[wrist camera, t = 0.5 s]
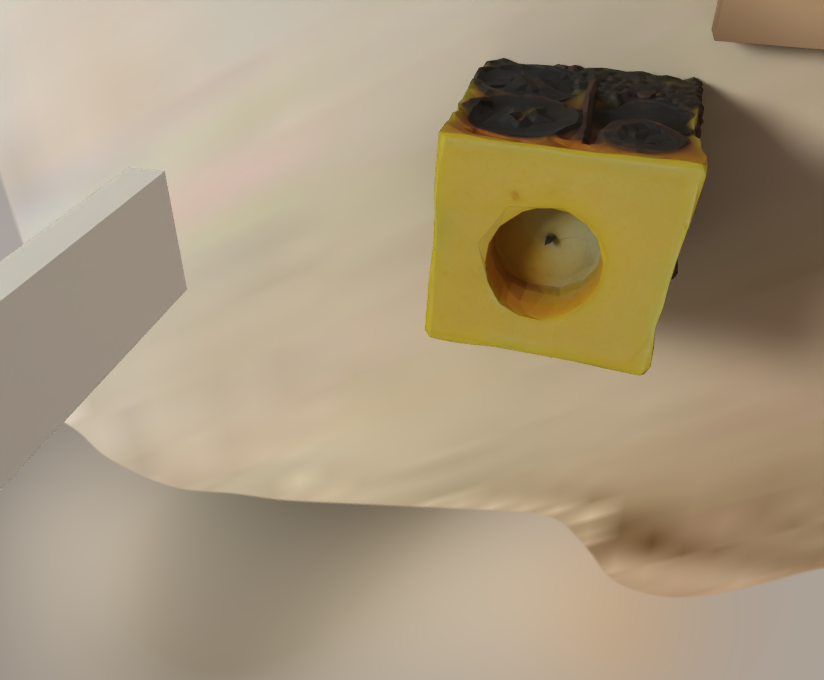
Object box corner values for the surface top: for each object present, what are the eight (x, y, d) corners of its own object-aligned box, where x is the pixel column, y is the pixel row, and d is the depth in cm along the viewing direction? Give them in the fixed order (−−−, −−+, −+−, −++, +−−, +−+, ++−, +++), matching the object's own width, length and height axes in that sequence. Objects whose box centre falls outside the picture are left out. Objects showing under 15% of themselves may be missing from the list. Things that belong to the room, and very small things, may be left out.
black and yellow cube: (705, 76, 35) (720, 157, 27) (654, 269, 41) (655, 382, 33) (482, 51, 37) (435, 120, 29) (465, 239, 43) (422, 340, 35)
